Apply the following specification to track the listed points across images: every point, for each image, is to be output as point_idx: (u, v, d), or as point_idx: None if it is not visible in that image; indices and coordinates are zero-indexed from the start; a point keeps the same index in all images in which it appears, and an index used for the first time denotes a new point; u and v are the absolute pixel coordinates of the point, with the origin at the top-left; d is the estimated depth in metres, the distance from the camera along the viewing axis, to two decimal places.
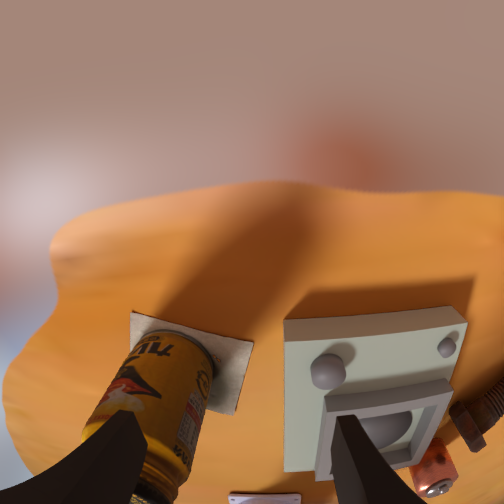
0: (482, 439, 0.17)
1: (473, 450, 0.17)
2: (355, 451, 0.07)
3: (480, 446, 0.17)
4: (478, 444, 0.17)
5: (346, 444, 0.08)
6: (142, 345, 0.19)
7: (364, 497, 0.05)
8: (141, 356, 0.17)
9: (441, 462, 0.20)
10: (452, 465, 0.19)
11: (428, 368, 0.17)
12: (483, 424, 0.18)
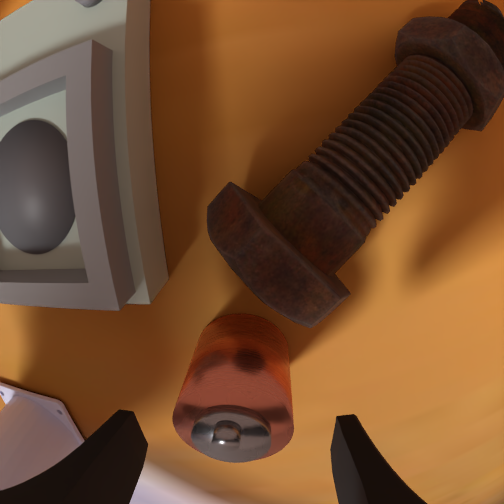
0: (289, 256, 0.08)
1: (281, 306, 0.08)
2: (354, 451, 0.07)
3: (308, 295, 0.08)
4: (286, 280, 0.08)
5: (346, 444, 0.08)
6: None
7: (364, 497, 0.05)
8: None
9: (231, 359, 0.11)
10: (267, 376, 0.10)
11: (73, 36, 0.08)
12: (294, 217, 0.09)
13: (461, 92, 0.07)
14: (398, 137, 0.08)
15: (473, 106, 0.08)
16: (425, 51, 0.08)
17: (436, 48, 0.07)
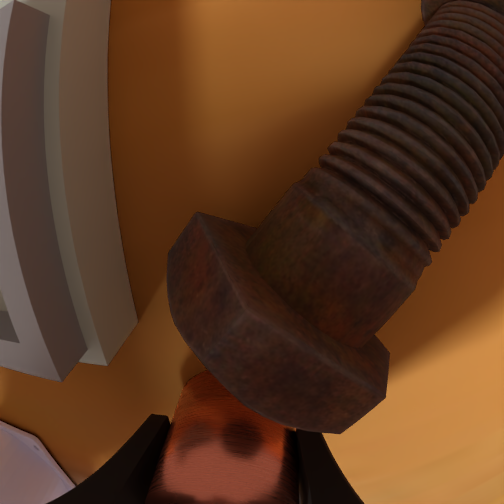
0: (299, 352, 0.04)
1: (290, 419, 0.05)
2: (309, 456, 0.07)
3: (334, 401, 0.05)
4: (295, 386, 0.04)
5: (301, 448, 0.08)
6: None
7: None
8: None
9: (218, 444, 0.07)
10: (267, 468, 0.07)
11: None
12: (305, 271, 0.05)
13: None
14: (463, 119, 0.04)
15: None
16: None
17: None
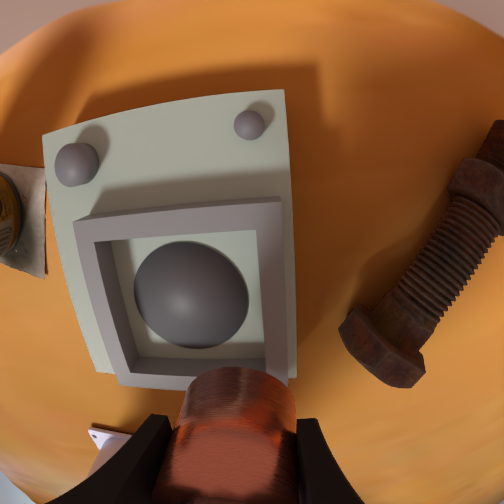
0: (401, 360, 0.13)
1: (395, 384, 0.13)
2: (309, 456, 0.07)
3: (409, 375, 0.13)
4: (399, 371, 0.13)
5: (301, 448, 0.08)
6: None
7: None
8: None
9: (209, 439, 0.08)
10: (256, 459, 0.07)
11: (232, 169, 0.13)
12: (399, 333, 0.13)
13: (495, 226, 0.12)
14: (456, 274, 0.12)
15: (501, 228, 0.12)
16: (473, 197, 0.12)
17: (482, 200, 0.11)
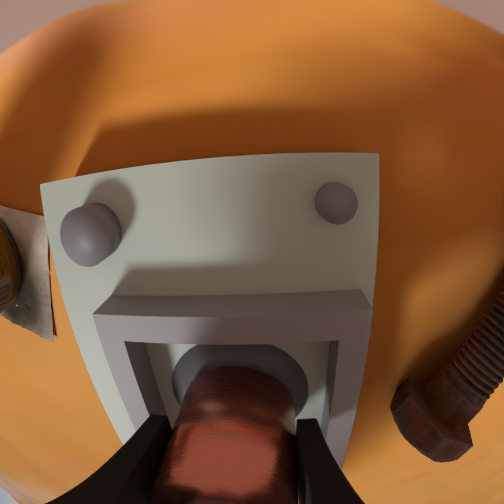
0: (454, 442, 0.10)
1: (445, 460, 0.10)
2: (309, 456, 0.07)
3: (458, 451, 0.10)
4: (450, 451, 0.10)
5: (301, 448, 0.08)
6: None
7: None
8: None
9: (206, 439, 0.08)
10: (253, 458, 0.07)
11: (308, 256, 0.10)
12: (453, 415, 0.11)
13: None
14: None
15: None
16: None
17: None
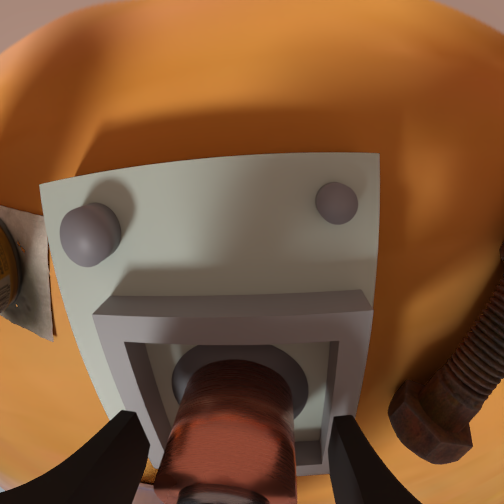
0: (451, 445, 0.10)
1: (444, 462, 0.10)
2: (351, 452, 0.07)
3: (457, 453, 0.10)
4: (448, 453, 0.10)
5: (343, 444, 0.08)
6: None
7: (360, 498, 0.05)
8: None
9: (207, 428, 0.08)
10: (252, 446, 0.07)
11: (308, 256, 0.10)
12: (450, 418, 0.11)
13: None
14: None
15: None
16: None
17: None
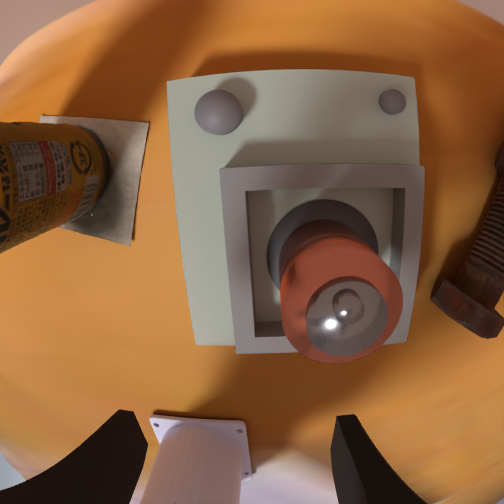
0: (489, 313, 0.13)
1: (486, 335, 0.14)
2: (354, 451, 0.07)
3: (495, 326, 0.13)
4: (488, 323, 0.13)
5: (346, 444, 0.08)
6: None
7: (364, 497, 0.05)
8: None
9: (328, 240, 0.11)
10: (366, 248, 0.11)
11: (376, 137, 0.13)
12: (482, 292, 0.14)
13: None
14: None
15: None
16: None
17: None
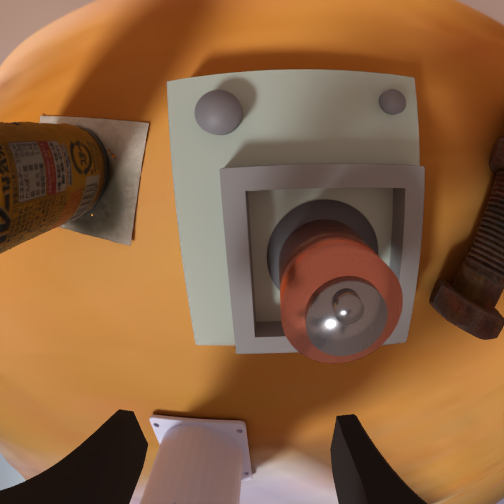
0: (488, 316, 0.13)
1: (486, 336, 0.14)
2: (354, 451, 0.07)
3: (495, 327, 0.13)
4: (487, 325, 0.13)
5: (346, 444, 0.08)
6: None
7: (364, 497, 0.05)
8: None
9: (328, 240, 0.11)
10: (366, 248, 0.11)
11: (376, 137, 0.13)
12: (481, 294, 0.14)
13: None
14: None
15: None
16: None
17: None
